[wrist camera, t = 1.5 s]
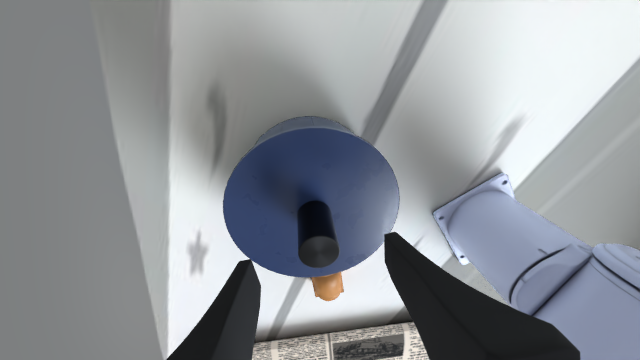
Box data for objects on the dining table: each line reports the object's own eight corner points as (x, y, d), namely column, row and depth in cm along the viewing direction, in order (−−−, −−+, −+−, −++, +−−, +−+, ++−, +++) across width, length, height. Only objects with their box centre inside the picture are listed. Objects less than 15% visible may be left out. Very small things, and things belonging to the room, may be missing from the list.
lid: (427, 184, 18) (470, 223, 14) (330, 285, 22) (339, 341, 17) (286, 82, 14) (283, 91, 10) (197, 228, 18) (166, 283, 13)
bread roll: (341, 280, 29) (346, 304, 26) (314, 285, 29) (317, 309, 26) (335, 241, 26) (340, 262, 23) (306, 246, 26) (308, 268, 23)
